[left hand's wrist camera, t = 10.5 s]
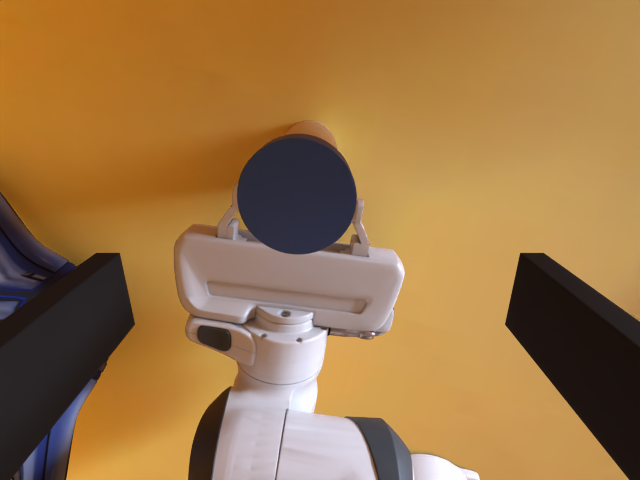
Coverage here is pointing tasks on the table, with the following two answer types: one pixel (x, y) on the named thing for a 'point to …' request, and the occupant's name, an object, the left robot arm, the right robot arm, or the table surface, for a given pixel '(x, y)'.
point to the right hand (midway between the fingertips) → (299, 191)
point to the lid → (297, 194)
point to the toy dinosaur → (12, 293)
